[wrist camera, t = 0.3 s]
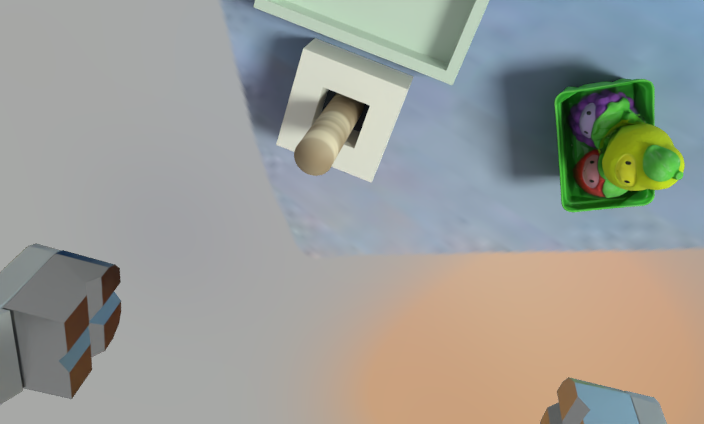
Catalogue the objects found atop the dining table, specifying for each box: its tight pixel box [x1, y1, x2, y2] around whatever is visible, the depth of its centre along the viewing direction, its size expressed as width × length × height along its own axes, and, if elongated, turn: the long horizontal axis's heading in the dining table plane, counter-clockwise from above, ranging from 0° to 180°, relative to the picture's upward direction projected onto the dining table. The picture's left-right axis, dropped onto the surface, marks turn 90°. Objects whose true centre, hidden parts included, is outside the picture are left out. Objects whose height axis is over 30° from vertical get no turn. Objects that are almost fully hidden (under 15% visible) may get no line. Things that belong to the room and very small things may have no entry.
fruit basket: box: [554, 79, 684, 212], centre depth 50 cm, size 11×9×11 cm
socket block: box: [276, 38, 413, 183], centre depth 57 cm, size 10×10×4 cm
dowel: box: [294, 93, 364, 176], centre depth 53 cm, size 3×3×13 cm
